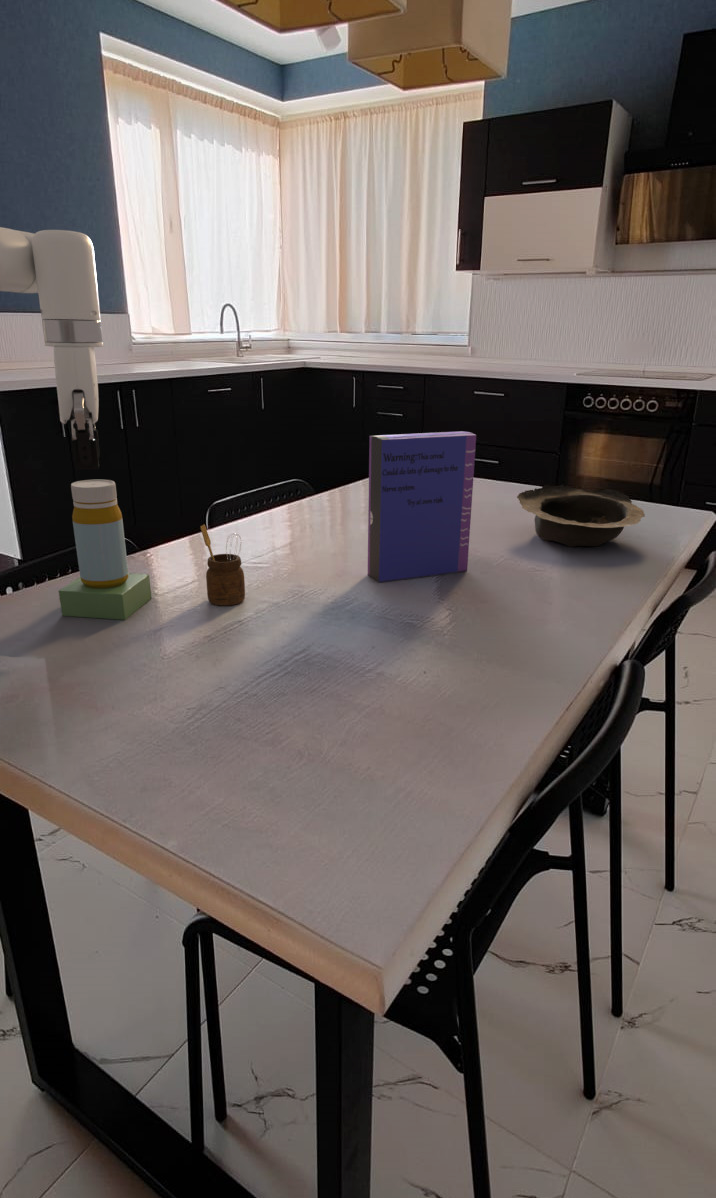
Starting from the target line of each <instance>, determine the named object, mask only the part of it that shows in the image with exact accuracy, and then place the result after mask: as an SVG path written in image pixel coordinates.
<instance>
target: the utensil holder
mask: <svg viewBox="0 0 716 1198" xmlns="http://www.w3.org/2000/svg"><path fill="white" fill-rule="evenodd" d="M199 528H200V531H201V533H202V534H201V535H202V538H203V542H204V545H205V546H206V547H207V548H208V552H209V555H210V556H209V557H208V558H207V562H206V563H207V564H206V565H207V567H208V568H207V570H206V575H205V578H206V579H205V582H206V594H207V599H208V602H209V603H210V604H212V605H214V606H221V607H227V606H235V605H239V604H241V603H243V602H244V600H245V598H246V584H245V582H246V581H245V573H244V569H243V568H242V559H241V556H240V554H241V549H242V543H238V542H239V540H238V538H236V542H235V543H236V545H238V544H240V545H239V550H238V549H237V547H234V548H235V552H234V553H232V550H229V553H228V552H227V550H228V549H227V548H228V542H230V544H229V545H230V546H232V544H233V542H232V541H233V540H234V537H235V536H239V534H238V533H230V534H229V535H228V536H227V540H226V544H225V552H226V553H217V554H213V550H212V547H211V544H212V542H211V539H210V535H209V533H208V530H207V527H206V524H202V525H200V527H199ZM229 538H230V539H231V541H229ZM239 539H240V540H242V539H241V536H239ZM237 551H238V553H237ZM236 553H237V554H236Z"/></svg>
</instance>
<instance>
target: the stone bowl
mask: <svg viewBox="0 0 716 1198" xmlns="http://www.w3.org/2000/svg"><path fill="white" fill-rule="evenodd" d="M516 498H517V500H518V501H519V504H520V505H521V509H523V510H525V511H526V512H527V513H530V514H533V515H535V516H534V528H535V534H536V535H537V537H539V538H541V539H543V540H544V541H549V542H550V541H551V542H552V541H555V542H557V543H560V544H563V545H565V546H568V547H571V548H575V547H579V546H580V547H599V546H602V545H603V544H604V543H608V542H610V541H612V540H615V539H617V538H618V537H619V536H620V535H621V533H622V532H623V531H624V528H625V527H628V526H632V525H633V526H634V525H637V524H639V523H640V522H641V519H642V518H645V517H646V515H645V511H644V510H643V509H642V508H641V507H639V506H638V505H636V504H634V503H632V502H633V501H632V499H630V497H629V495H627V494H624V493H622V492H621V491H619V490H617V489H609V488H604V489H603V490H601V489H599V490H590V491H588V490H585V489H579V488H576V487H572V486H569V485H565V486H564V484H563V483H562V484H560V485H550V484H544V485H543V486H542V487H539V488H534V489H528V490H524V491H521V492H519V494H517V496H516Z"/></svg>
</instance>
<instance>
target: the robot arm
mask: <svg viewBox="0 0 716 1198" xmlns="http://www.w3.org/2000/svg"><path fill="white" fill-rule="evenodd" d="M0 292H7V293H15V294H17V293H18V294H38V302H39V309H40V317H41V325H42V326H41V327H42V333H43V340H44V346H45V347H53V363H54V365H53V367H54V374H55V375H54V376H55V384H56V393H57V402H58V413H59V421H60V422H61V424H63V425H66V424H67V422H68V421H70V425H71V426H70V427H71V440H70V442H71V450H72V457H73V458H72V459H73V467H74V470H76V471H93V470H95V471H97V470H99V468H100V464H99V463H100V462H99V458H100V457H101V452H100V444H99V434H98V433H99V432H98V429H96V423H97V422H98V420H99V405H100V404H99V401H100V399H99V383H98V382H99V381H98V371H97V360H96V350H95V348H103V347H104V339H103V329H102V321H101V320H102V319H101V309H100V298H99V289H98V280H97V269H96V260H95V250H94V245H93V242H92V240H91V238H90V237H89V236H88V235H87V234H86V233H83V232H79V231H74V230H68V229H67V230H66V229H43V230H38V231H36V232H35V233H34V232H28V231H23V230H17V229H12V228H7V227H3V226H0Z"/></svg>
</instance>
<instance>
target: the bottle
mask: <svg viewBox="0 0 716 1198" xmlns="http://www.w3.org/2000/svg"><path fill="white" fill-rule="evenodd" d="M70 489H71V497H72V498H71V499H72V501H73V502H72V503H73V510H72V514H71V518H72V526H73V527H72V528H73V534H74V542H75V549H76V556H77V564H78V570H79V578H80V577H81V581H82V582H83V583H84V584H85V585H86V586H88V587H92V588H109V587H115V586H119V585H121V584H123V583H125V582H126V580H127V579H128V577H129V576H128V573H129V565H128V558H127V548H126V547H127V546H126V539H125V530H124V529H125V528H124V522H123V514H122V511H121V509H120V507H119V505H118V498H117V496H118V494H117V484H116V482H115V481H114V480H111V479H84V480H77V481H74V482H72V483H71V484H70Z"/></svg>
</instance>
